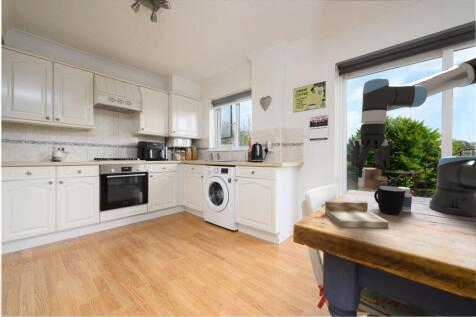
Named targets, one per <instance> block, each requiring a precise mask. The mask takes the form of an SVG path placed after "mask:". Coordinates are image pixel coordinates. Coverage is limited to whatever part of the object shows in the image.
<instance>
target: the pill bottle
mask: <svg viewBox="0 0 476 317" xmlns="http://www.w3.org/2000/svg"><path fill="white" fill-rule="evenodd" d="M397 188H402V189H404V190H405V198H404V203H403V207H402V210H401V212H402V213H411V211H412V202H413V201H412V200H413V195H412V194H411V193H410V192H411V188H410V187H404V186H398V187H397ZM401 212H400V213H401Z"/></svg>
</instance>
